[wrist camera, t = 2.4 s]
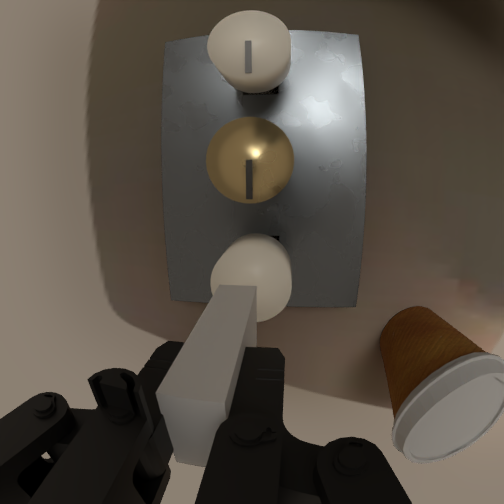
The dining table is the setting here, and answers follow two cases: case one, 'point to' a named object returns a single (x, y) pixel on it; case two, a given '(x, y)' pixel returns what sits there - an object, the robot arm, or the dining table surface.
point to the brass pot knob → (250, 160)
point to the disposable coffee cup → (438, 386)
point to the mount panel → (299, 185)
